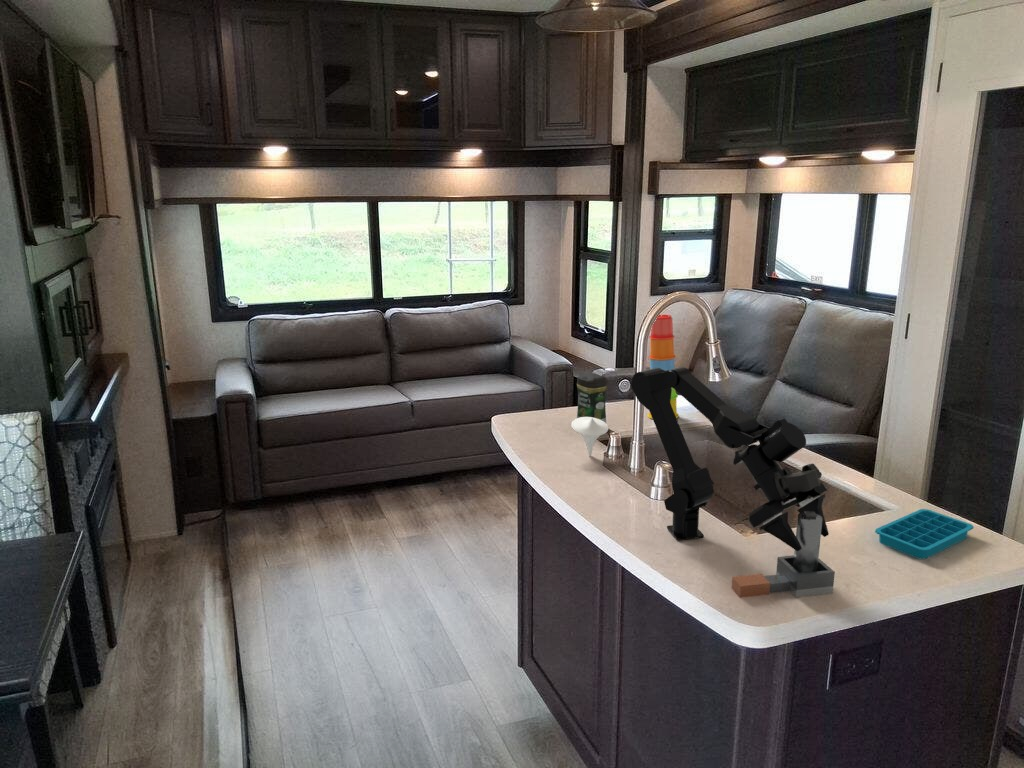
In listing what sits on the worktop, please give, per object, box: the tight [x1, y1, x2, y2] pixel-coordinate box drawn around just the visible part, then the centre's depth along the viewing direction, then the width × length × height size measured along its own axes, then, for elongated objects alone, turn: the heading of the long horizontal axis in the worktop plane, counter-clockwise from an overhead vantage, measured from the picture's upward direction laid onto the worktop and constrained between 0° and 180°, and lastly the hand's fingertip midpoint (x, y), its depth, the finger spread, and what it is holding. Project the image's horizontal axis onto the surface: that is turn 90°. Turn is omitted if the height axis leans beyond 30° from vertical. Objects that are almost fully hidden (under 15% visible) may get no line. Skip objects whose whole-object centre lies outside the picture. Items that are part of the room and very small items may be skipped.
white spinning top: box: [570, 417, 609, 457], centre depth 217 cm, size 10×11×12 cm
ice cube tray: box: [874, 508, 975, 560], centre depth 163 cm, size 12×20×3 cm, turn 123°
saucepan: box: [731, 554, 836, 598], centre depth 145 cm, size 8×18×4 cm, turn 99°
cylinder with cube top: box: [793, 511, 822, 574], centre depth 144 cm, size 4×4×14 cm
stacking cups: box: [647, 314, 680, 420], centre depth 249 cm, size 10×10×35 cm
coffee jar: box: [576, 371, 608, 424], centre depth 240 cm, size 10×8×19 cm
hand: (813, 542), depth 143 cm, fingers open, 9 cm apart
